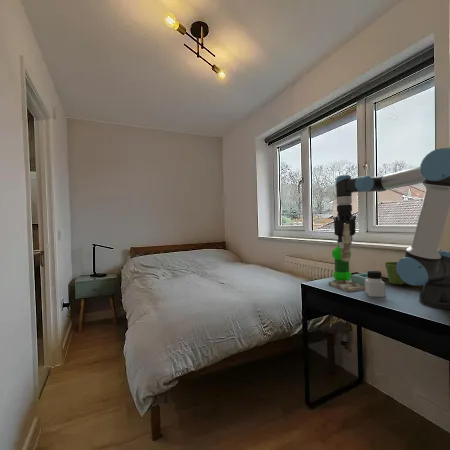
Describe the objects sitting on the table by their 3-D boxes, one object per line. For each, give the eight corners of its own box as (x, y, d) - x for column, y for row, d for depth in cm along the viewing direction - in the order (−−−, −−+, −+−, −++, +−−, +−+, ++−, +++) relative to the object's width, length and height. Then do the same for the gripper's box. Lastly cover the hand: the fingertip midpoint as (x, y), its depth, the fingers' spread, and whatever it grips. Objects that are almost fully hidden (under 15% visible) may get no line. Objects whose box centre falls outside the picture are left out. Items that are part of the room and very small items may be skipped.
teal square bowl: (379, 287, 147) (379, 276, 146) (365, 289, 144) (365, 278, 144) (365, 283, 156) (365, 272, 156) (351, 285, 153) (351, 274, 153)
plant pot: (414, 285, 147) (414, 264, 146) (392, 286, 147) (391, 265, 146) (400, 280, 158) (400, 261, 158) (380, 281, 159) (379, 262, 158)
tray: (366, 290, 143) (366, 286, 142) (349, 293, 139) (349, 288, 139) (344, 283, 158) (344, 279, 158) (328, 285, 154) (328, 281, 154)
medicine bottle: (385, 297, 130) (385, 272, 129) (369, 297, 131) (368, 272, 131) (380, 293, 137) (379, 269, 136) (364, 293, 138) (364, 269, 138)
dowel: (352, 260, 147) (351, 223, 146) (345, 261, 145) (344, 224, 145) (346, 259, 151) (345, 223, 150) (339, 260, 150) (338, 224, 149)
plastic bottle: (332, 283, 160) (330, 240, 159) (334, 278, 169) (333, 238, 168) (350, 284, 155) (349, 240, 154) (352, 280, 164) (351, 238, 163)
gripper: (352, 204, 153) (353, 245, 154) (326, 205, 148) (327, 248, 149) (362, 203, 146) (363, 247, 147) (335, 204, 141) (337, 249, 142)
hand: (345, 247), depth 148 cm, fingers closed on dowel, 4 cm apart
